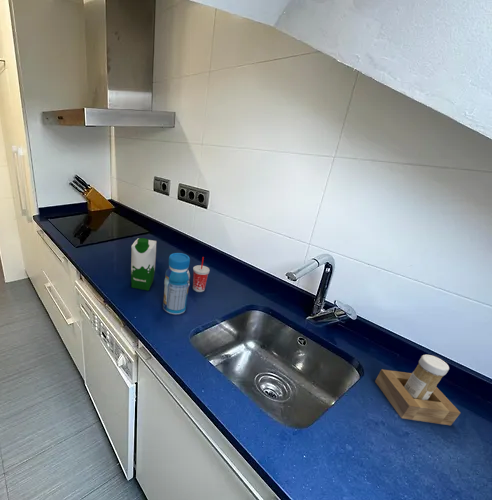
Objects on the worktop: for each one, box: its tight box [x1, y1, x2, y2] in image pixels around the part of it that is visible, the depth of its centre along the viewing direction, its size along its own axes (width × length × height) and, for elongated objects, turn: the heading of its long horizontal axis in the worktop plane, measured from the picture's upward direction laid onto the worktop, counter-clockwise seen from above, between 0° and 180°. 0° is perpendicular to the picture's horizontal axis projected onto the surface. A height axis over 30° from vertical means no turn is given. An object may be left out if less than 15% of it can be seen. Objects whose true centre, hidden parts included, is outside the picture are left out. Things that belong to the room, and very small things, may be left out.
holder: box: [374, 368, 461, 426], centre depth 68 cm, size 10×10×4 cm
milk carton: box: [130, 237, 157, 292], centre depth 109 cm, size 9×9×20 cm
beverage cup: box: [192, 256, 211, 293], centre depth 108 cm, size 6×6×14 cm
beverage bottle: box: [162, 252, 191, 315], centre depth 95 cm, size 8×8×20 cm
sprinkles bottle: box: [404, 354, 450, 400], centre depth 66 cm, size 5×5×14 cm
